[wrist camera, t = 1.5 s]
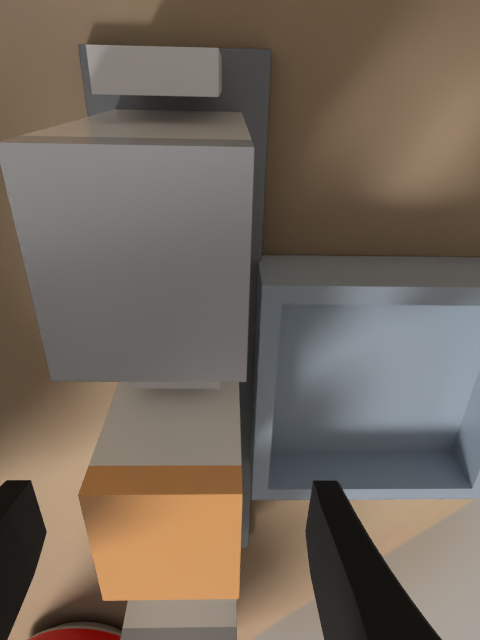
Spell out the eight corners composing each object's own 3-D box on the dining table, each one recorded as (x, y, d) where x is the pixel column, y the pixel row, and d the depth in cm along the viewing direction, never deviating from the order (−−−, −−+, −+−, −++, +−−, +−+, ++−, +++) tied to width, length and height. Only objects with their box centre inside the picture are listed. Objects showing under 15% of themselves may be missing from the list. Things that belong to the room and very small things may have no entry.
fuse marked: (147, 416, 17) (102, 600, 11) (137, 329, 15) (78, 494, 9) (235, 416, 17) (239, 598, 11) (237, 329, 16) (242, 494, 9)
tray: (249, 452, 19) (251, 499, 17) (257, 254, 15) (262, 285, 13) (454, 451, 20) (483, 499, 17) (523, 257, 15) (573, 288, 13)
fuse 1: (129, 248, 14) (51, 381, 8) (114, 109, 12) (-5, 143, 6) (238, 249, 14) (246, 382, 8) (241, 112, 12) (254, 147, 6)
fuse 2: (159, 529, 21) (130, 718, 15) (153, 469, 19) (116, 658, 13) (233, 528, 21) (234, 716, 15) (234, 469, 19) (237, 657, 13)
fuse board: (148, 537, 22) (130, 640, 18) (84, 46, 12) (9, 29, 8) (247, 536, 22) (251, 638, 18) (269, 50, 12) (290, 36, 8)
